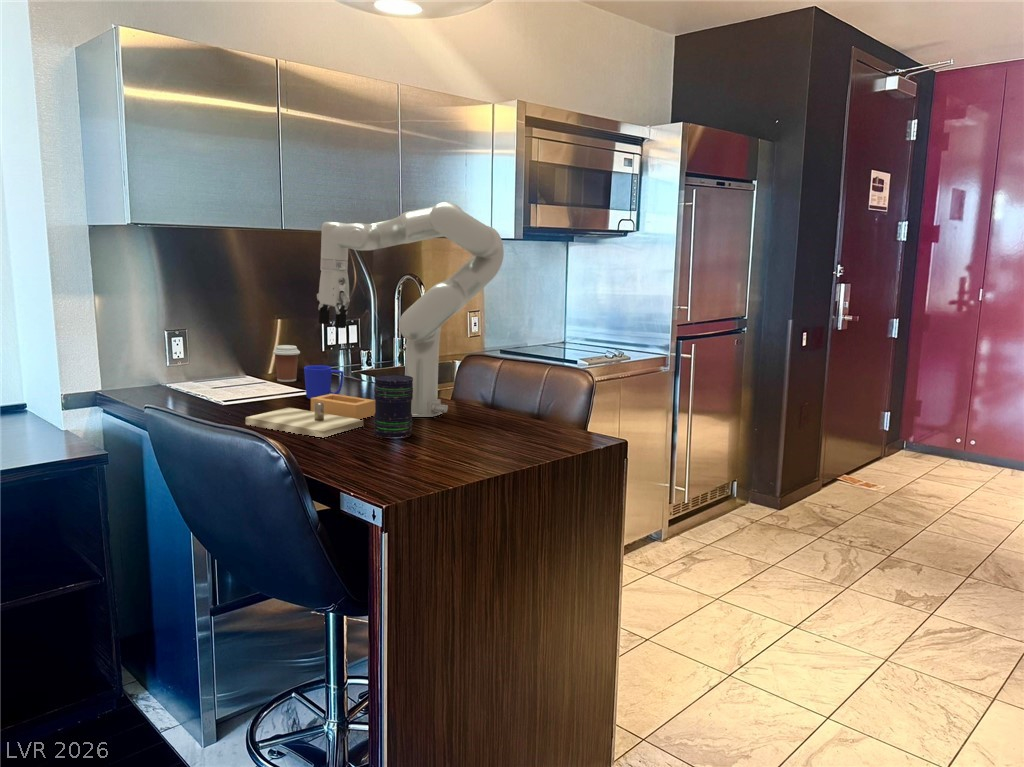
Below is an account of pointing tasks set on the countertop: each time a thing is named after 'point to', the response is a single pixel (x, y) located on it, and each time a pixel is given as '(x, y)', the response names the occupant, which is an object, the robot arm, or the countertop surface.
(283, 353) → the coffee cup
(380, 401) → the storage jar
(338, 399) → the orange rectangular frame
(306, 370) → the mug
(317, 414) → the round metal post
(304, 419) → the backing board
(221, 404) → the countertop surface
